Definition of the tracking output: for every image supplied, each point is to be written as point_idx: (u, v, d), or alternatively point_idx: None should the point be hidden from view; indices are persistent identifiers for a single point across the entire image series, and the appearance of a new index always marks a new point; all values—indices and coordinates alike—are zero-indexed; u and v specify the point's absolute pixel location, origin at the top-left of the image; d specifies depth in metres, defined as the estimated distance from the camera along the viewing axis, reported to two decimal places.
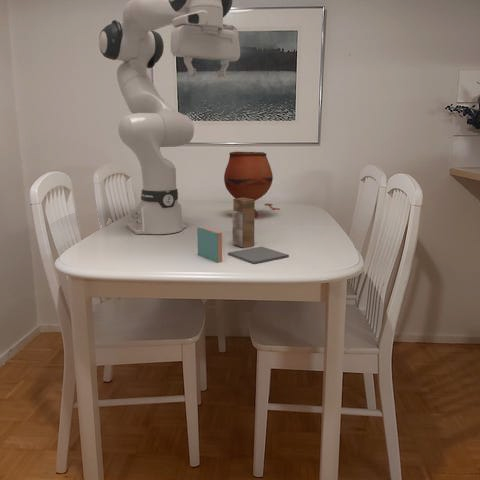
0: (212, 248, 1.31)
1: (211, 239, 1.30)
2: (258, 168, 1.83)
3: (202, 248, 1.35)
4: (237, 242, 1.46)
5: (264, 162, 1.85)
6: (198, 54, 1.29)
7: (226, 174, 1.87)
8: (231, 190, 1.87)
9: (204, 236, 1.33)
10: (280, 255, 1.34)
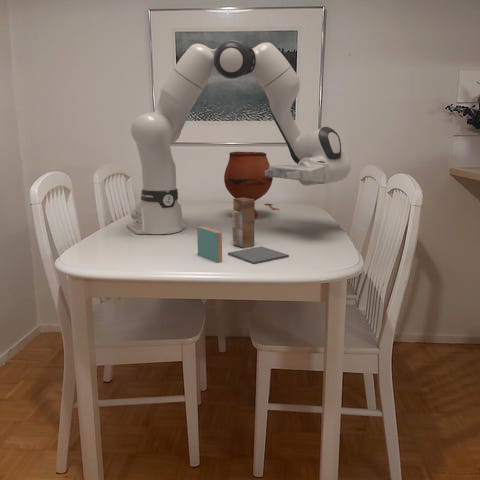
0: (212, 248, 1.31)
1: (211, 239, 1.30)
2: (258, 168, 1.83)
3: (202, 248, 1.35)
4: (237, 242, 1.46)
5: (264, 162, 1.85)
6: (296, 179, 1.50)
7: (226, 174, 1.87)
8: (231, 190, 1.87)
9: (204, 236, 1.33)
10: (280, 255, 1.34)
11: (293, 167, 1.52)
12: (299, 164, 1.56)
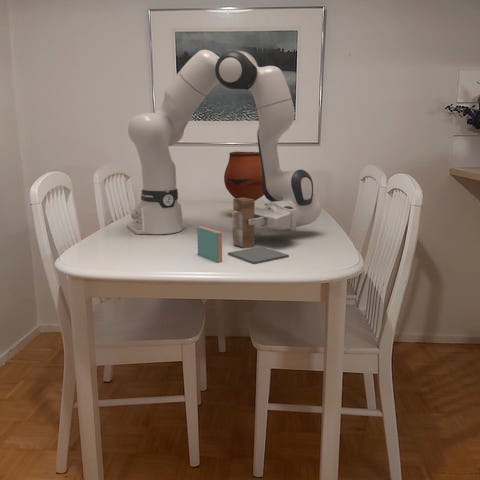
0: (212, 248, 1.31)
1: (211, 239, 1.30)
2: (258, 168, 1.83)
3: (202, 248, 1.35)
4: (237, 242, 1.46)
5: None
6: None
7: (226, 174, 1.87)
8: (231, 190, 1.87)
9: (204, 236, 1.33)
10: (280, 255, 1.34)
11: (260, 212, 1.48)
12: (267, 208, 1.52)
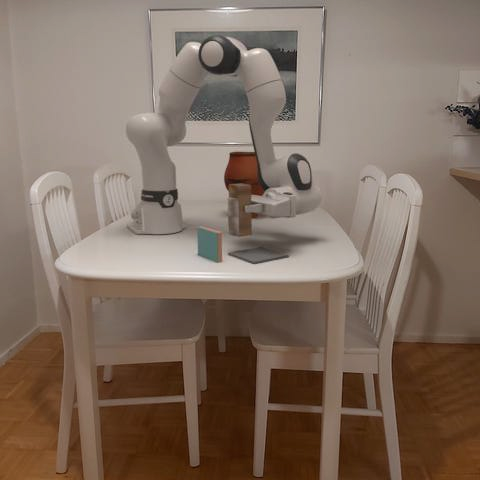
0: (212, 248, 1.31)
1: (211, 239, 1.30)
2: None
3: (202, 248, 1.35)
4: (233, 231, 1.36)
5: None
6: (260, 213, 1.37)
7: (226, 174, 1.87)
8: None
9: (204, 236, 1.33)
10: (280, 255, 1.34)
11: (257, 199, 1.38)
12: (264, 195, 1.42)
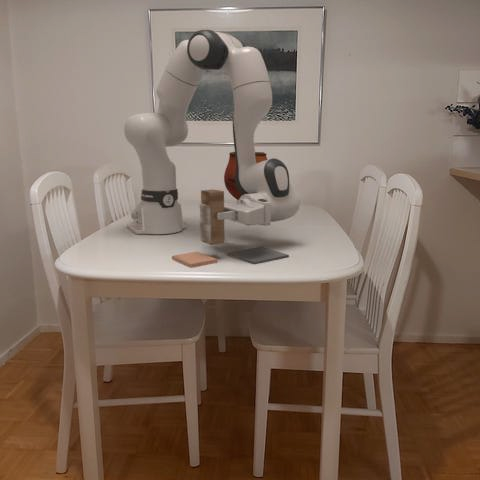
0: None
1: None
2: None
3: None
4: (205, 238, 1.32)
5: None
6: (233, 220, 1.32)
7: (226, 174, 1.87)
8: (231, 190, 1.87)
9: None
10: (280, 255, 1.34)
11: (230, 206, 1.33)
12: (239, 201, 1.38)
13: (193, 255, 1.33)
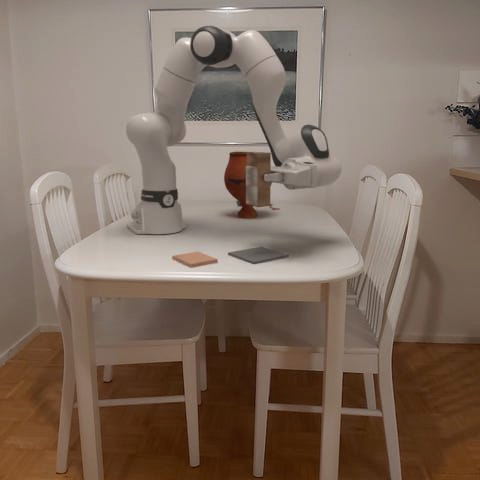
0: None
1: None
2: None
3: None
4: (251, 201, 1.31)
5: None
6: None
7: (226, 174, 1.87)
8: (231, 190, 1.87)
9: None
10: (280, 255, 1.34)
11: (276, 169, 1.33)
12: (283, 165, 1.37)
13: (193, 255, 1.33)
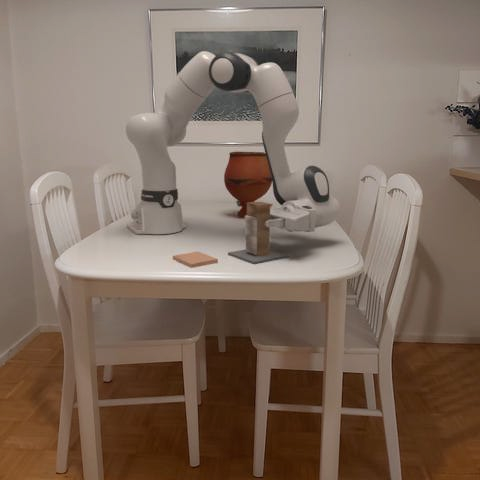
0: None
1: None
2: (258, 168, 1.83)
3: None
4: (251, 250, 1.34)
5: (264, 162, 1.85)
6: (279, 227, 1.34)
7: (226, 174, 1.87)
8: (231, 190, 1.87)
9: None
10: (280, 255, 1.34)
11: (275, 213, 1.35)
12: (282, 208, 1.40)
13: (194, 255, 1.33)
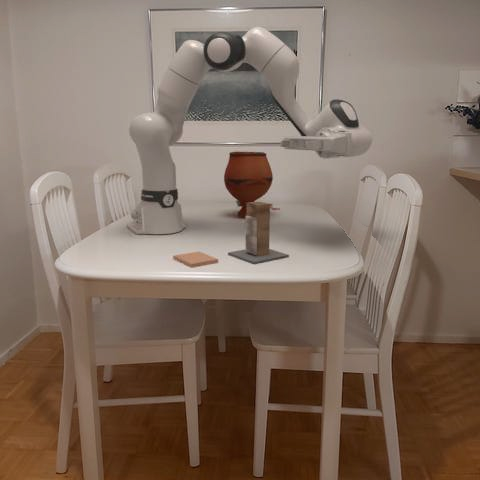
0: None
1: None
2: (258, 168, 1.83)
3: None
4: (251, 250, 1.34)
5: (264, 162, 1.85)
6: (316, 150, 1.37)
7: (226, 174, 1.87)
8: (231, 190, 1.87)
9: None
10: (280, 255, 1.34)
11: (312, 137, 1.38)
12: (318, 134, 1.43)
13: (194, 255, 1.33)
